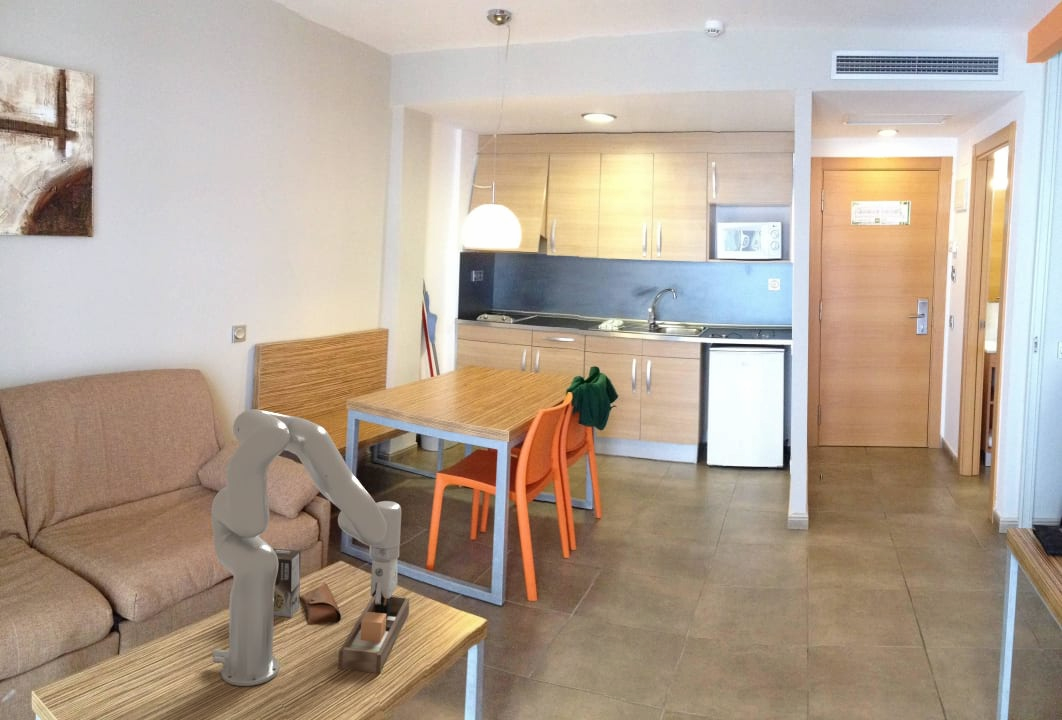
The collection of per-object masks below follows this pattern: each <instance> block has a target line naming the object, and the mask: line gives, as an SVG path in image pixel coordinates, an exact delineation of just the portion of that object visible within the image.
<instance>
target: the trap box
mask: <svg viewBox="0 0 1062 720" xmlns="http://www.w3.org/2000/svg"><path fill="white" fill-rule="evenodd" d="M366 612H375V596H374V597H372V596H371V598H370V600H369V601H368V603H367V604H366V605H365V608H364V609H363V611H362V613H361V614H360V616H359V617H358V619H357V621H356V622H355V624H354V626H353V628H352V629H351V630H350V632H349V634H348V635H347V637H346V639H345V641H344V642H343V643H342V645H341V647H340V648H339V650H338V669H339V670H346V671H347V670H349V671H356V672H365V673H376V674H381V672H382V671H383V668H384V666H385V664H386V662H387V660H388V658H389V656H390V654H391V651H392V650H393V649H394V645H395V644H396V641H397V639H398V637H399V635H400V634H401V631H402V630H403V627H404V625H405V623H406V621H407V619H408V617H409V615H410V598H407V596H401V595H393V594H392V595H391V597H390V598H389V615H388V617H387V619H386V633H385V635H384V636H383V638H382V640H381V642H375V641H365V640H361V621H362V619H363V617H364V616H365V614H366Z"/></svg>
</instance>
